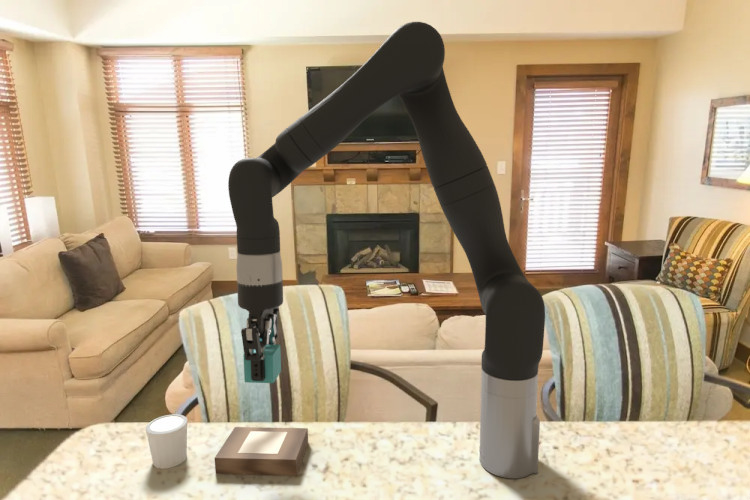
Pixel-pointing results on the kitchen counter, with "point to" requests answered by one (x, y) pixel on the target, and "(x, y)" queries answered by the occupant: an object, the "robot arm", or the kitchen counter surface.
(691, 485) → the kitchen counter surface
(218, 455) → the walnut plinth
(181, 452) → the white tapered cup
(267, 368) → the teal cube
